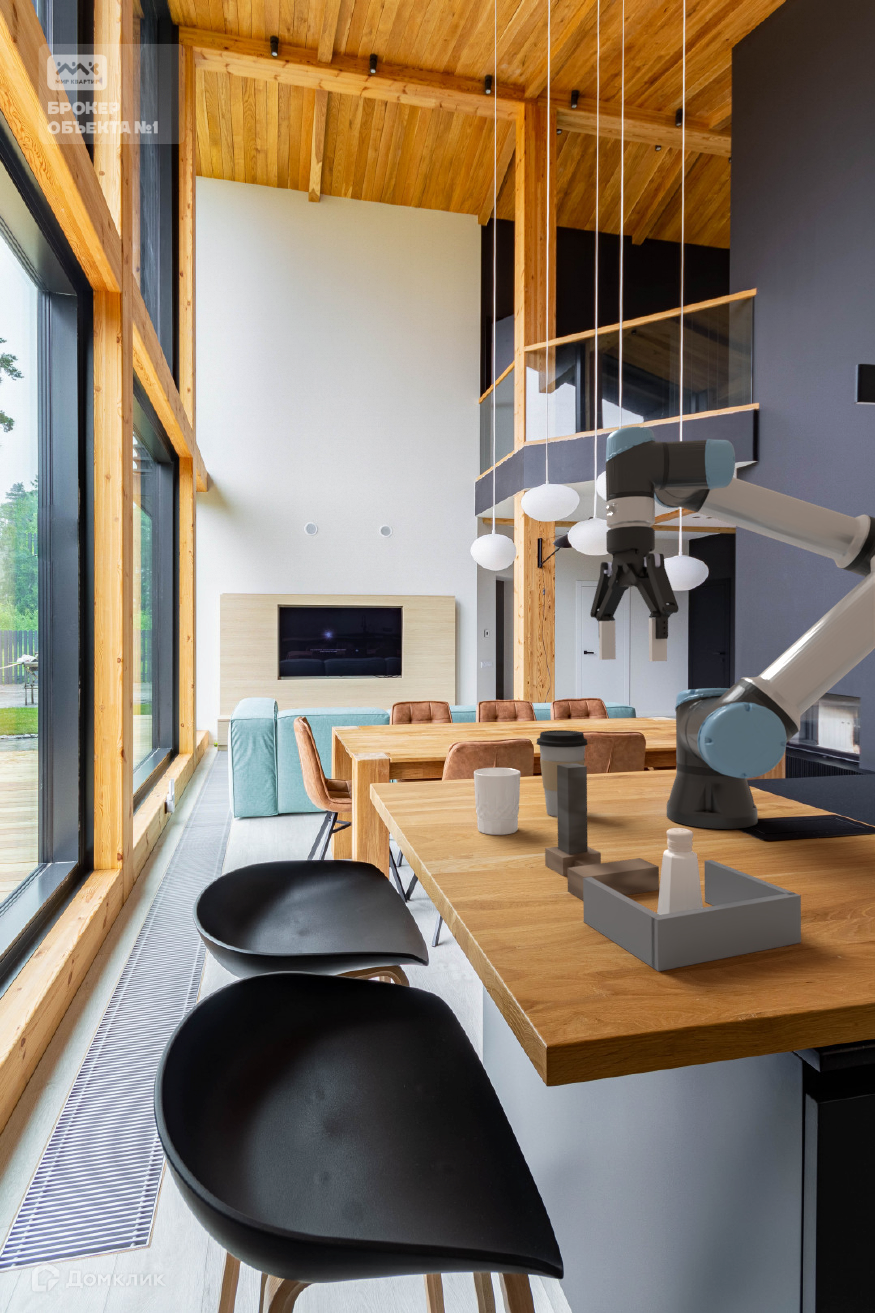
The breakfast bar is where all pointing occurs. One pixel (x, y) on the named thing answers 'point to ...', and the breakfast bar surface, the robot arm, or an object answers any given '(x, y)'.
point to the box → (698, 920)
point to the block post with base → (574, 849)
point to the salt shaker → (679, 874)
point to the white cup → (497, 800)
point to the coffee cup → (558, 760)
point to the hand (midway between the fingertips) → (631, 660)
